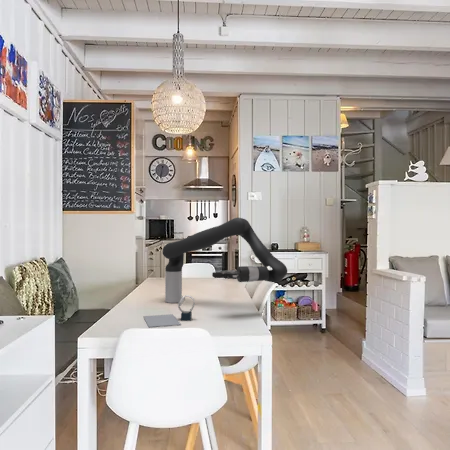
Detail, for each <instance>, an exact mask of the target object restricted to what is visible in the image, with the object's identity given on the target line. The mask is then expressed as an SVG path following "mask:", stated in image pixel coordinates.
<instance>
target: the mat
mask: <svg viewBox="0 0 450 450" xmlns="http://www.w3.org/2000/svg"><path fill="white" fill-rule="evenodd" d="M142 316H143V319H144V321H145V323H146V325H147V327H148V328H149V329H150V328H159V327H158V326H164V327H173V326H172V325H177V326H182V324H181V323H180V321H179V320H178V318H177V317H176V316H175V315H174V314H173V313H172V314H171V313H170V314H169V313H168V314H156V315H154V314H153V315H142Z"/></svg>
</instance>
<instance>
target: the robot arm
mask: <svg viewBox="0 0 450 450" xmlns="http://www.w3.org/2000/svg"><path fill="white" fill-rule="evenodd" d="M234 236H239V237H242V239H244V240H245V241H246V243H247V244H248V246H249V247H250V249H251V251H252V252H253V255H255V257H256V259H257V260H258V261H259V263H260V264H261V265H262V266H259V265H258V266H255V265H254V266H253V265H252V266H251V265H249V266H247V265H245V266H241V265H240V266H238V267H237V268H236V270H234V269H231V270H229V269H227V270H221V271H217V272H216V271H214V272H212V274H211V275H212V278H213V279H221V278H222V279H227V280H237V282H239V283H252V282H261V281H263V282H264V281H265V282H270V283H280V282H282V280H283V279H284V278H285V277H286V275H287V274H288V268H287V266H286V265H285V263H284V262H282V261H281V260H279V259H278V258H277V257H275V256H274V255H273V253H272V252H271V251H270V250H269V249H268V247H266V246H265V244H264V243H263V242H262V241H261V239H260V238H259V237H258V235H257V234H256V232H255V231H254V229H253V228H252V226H251V224H250V222H249V221H248V220H247V219H246V218H243V217H234V218H232V219H230V220H227V221H226V222H224V223H221V224H219V225H217V226H214V227H210V228H207V229H205V230H201V231H199V232H195V233H194V234H191V235H190V236H188V237H185V238H183V239H181V240H177V241H173V242H169V243H167V244H166V243H165V245H163V248H162V255H163V257H164V258H166V259H168V262H167V264H166V265H165V273H164V274H165V279H164V280H165V282H164V283H165V289H164V290H165V292H164V296H165V297H164V299H165V300H164V302H165V303H167V304H168V303H169V304H178V303H179V301H180V300H181V298H182V296H183V295H182V294H183V266H184V261H185V260H184V257H185V253H190V252H194V251H199V250H204V249H206V248H209V247H212V246H214V245H215V244H217V243H218V242H220V241H222V240H224V239H226V238H229V237H234ZM268 267H270V268H271V269H269V268H268Z"/></svg>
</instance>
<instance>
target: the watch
mask: <svg viewBox="0 0 450 450" xmlns="http://www.w3.org/2000/svg"><path fill="white" fill-rule="evenodd" d="M186 297H187V298H190V299H192V302H193V303H192V307H191V308H190V309H189V310H188V311H187V310H182V308H181V306H182V304H183V303H184V301H185V298H186ZM195 305H196V301H195V298H194V297H193V296H192V295H187V294H186V295H182V298H181V300H180V301H179V303H177V307H178V310H179V311H180V312H181V313H180V321H182V322H185V321H187V322H188V321H189V322H191V321H192V318H193V315H192V314H193V313H192V311H193V310H194V308H195Z"/></svg>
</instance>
